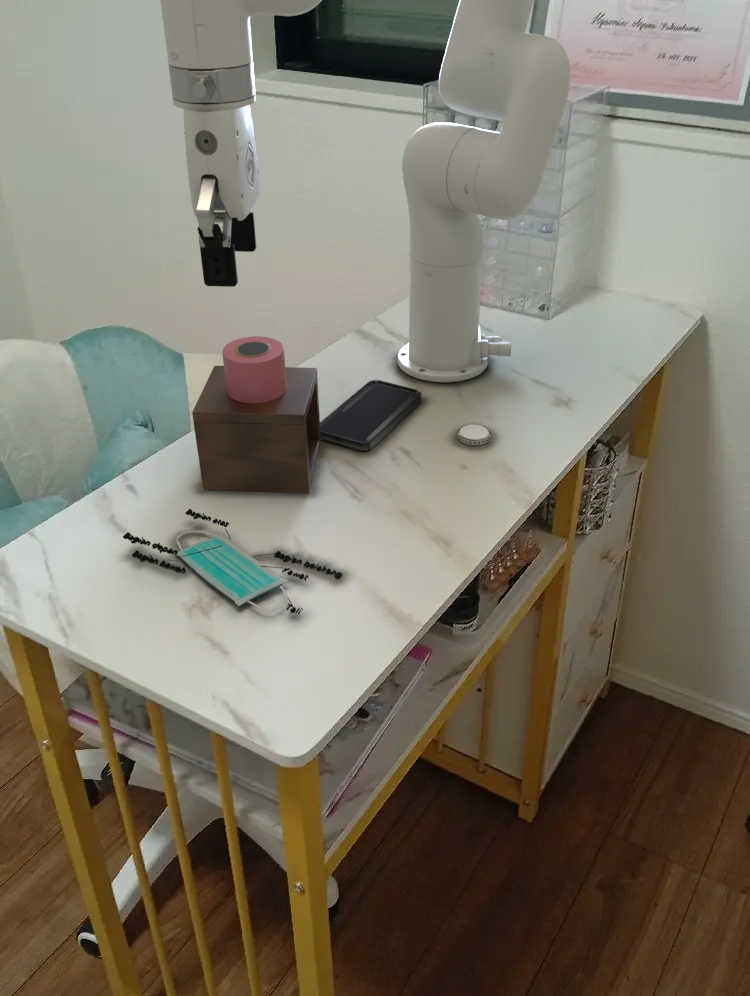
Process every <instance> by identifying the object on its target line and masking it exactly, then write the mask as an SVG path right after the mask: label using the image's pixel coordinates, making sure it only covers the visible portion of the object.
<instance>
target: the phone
mask: <svg viewBox="0 0 750 996" xmlns="http://www.w3.org/2000/svg"><path fill="white" fill-rule="evenodd" d="M421 403H422V391H421V390H419V389H415V388H411V387H407V386H405V385H401V384H396V383H392V382H389V381H384V380H380V379H372V380H369V381H368V382H367V383H365V384H364V385H363V386H362V387H360V388H359V389H358V390H357V391H356V392H355V393H353V394H352V395H351V396H350V397H349V398H347V400H345V401H344V402H342V403H341V404H339V406H338V407H336V408H335V409H334V410H333V411H332V412H330V413H329V414H328V415H327V416H326V417H324V418H323V419H322V420H320V433H321V441H325V442H329V443H332V444H336V445H340V446H342V447H346V448H348V449H353V450H356V451H359V452H367V451H372V449H374V448H375V447H376V446H377V445H378V444H379V443H380V442H381V441H382V440H383V439H384V438H385V437H387V436H388V434H389V433H391V431H393V429H395V428H396V427H398V425H399V424H400V423H401V422H402V421H403V420H404V419H405V418H406V417H408V415H409V414H410V413H412V412H413V411H414V410H415V409H416V408H417V407H418V406H419V405H420V404H421Z"/></svg>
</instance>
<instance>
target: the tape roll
mask: <svg viewBox="0 0 750 996" xmlns="http://www.w3.org/2000/svg"><path fill="white" fill-rule="evenodd" d="M221 353H222V362H223V366H224V371H225V380H226V388H227V394H228V395H229V396H230V397H231V398H232V399H234V400H236V401H239V402H243V403H263V402H268V401H272V400H274V399H277V398H279V397H280V396H282V395H283V394H284V393H285V392H286V389H287V382H286V369H285V367H286V358H285V346H284V343H282V342H281V341H279V340H278V339H275V338H273V337H268V336H257V335H256V336H255V335H254V336H245V337H241V338H237V339H234V340H231V341H229V342H228V343H227V344H226V345H224V347H223V348H222V352H221Z"/></svg>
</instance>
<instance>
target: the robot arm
mask: <svg viewBox="0 0 750 996" xmlns="http://www.w3.org/2000/svg"><path fill="white" fill-rule="evenodd" d="M322 1H323V0H160V8H161V16H162V23H163V24H162V25H163V31H164V38H165V40H164V41H165V46H166V47H165V48H166V55H167V63H168V72H169V73H168V74H169V79H170V89H171V95H172V103H173V106H175V107H176V108H179V109H183V124H184V125H183V128H184V131H183V134H184V141H185V143H184V144H185V155H186V167H187V177H188V186H189V194H190V200H191V207H192V212H193V215H194V216H195V217H196V219H197V223H198V226H197V233H198V246H199V252H200V259H201V268H202V274H203V275H202V277H203V283H204V285H205V286H207V287H228V288H232V287H233V288H234V287H236V286H237V284H238V282H239V279H238V270H237V269H238V268H237V258H236V252H239V253H240V252H241V253H245V252H247V253H252V252H255V251H256V250H257V238H256V237H257V236H256V226H255V215H254V212H253V208H254V207H255V205H256V203H257V202H258V200H259V198H260V196H261V191H262V190H261V189H262V187H261V179H260V169H259V160H258V152H257V145H256V136H255V128H254V121H253V116H252V111H251V110H252V109H251V105H253V104H255V103H256V101H257V95H256V86H255V74H254V73H255V71H254V59H253V57H254V56H253V46H252V45H253V44H252V30H251V17H252V16H257V15H260V16H261V15H262V16H279V17H281V16H282V17H294V16H299V15H303V14H305V13H308V12H310V11H311V10H313V9H315V8H316V7H317V6H318V5H320V3H321V2H322ZM534 1H535V0H459V1H458V5H457V8H456V12H455V15H454V19H453V23H452V27H451V30H450V33H449V37H448V41H447V44H446V48H445V51H444V55H443V58H442V63H441V66H440V71H439V76H438V77H439V78H438V93H439V97H440V100H441V101H442V102H443V103H444V104H445V106H446V107H448V108H450V109H451V110H453V111H455V112H458V113H461V114H465V115H468V116H472V117H478V118H484V119H488V120H489V119H490V120H496V121H501V127H500V131H495V130H489V129H485V128H484V129H483V128H481V127H476V126H471V125H465V124H461V123H460V124H459V123H454V122H445V121H442V122H441V121H439V122H431V123H428V124H425V125H423V126H421V127H420V128H418V129H416V131H415V132H414V133H412V135H411V136H410V137H409V139H408V140H407V142H406V145H405V147H404V151H403V153H402V154H403V155H402V165H401V167H402V168H401V169H402V179H403V184H404V185H403V186H404V189H405V190H404V191H405V195H406V199H407V200H406V201H407V207H408V208H407V209H408V217H409V289H408V290H409V295H408V301H409V302H408V342H407V343H406V344H404V345H403V346H401V348H400V349H399V350H398V352H397V364H398V366H399V368H400V369H401V371H403V372H404V373H405V374H407V375H408V376H411V377H413V378H415V379H418V380H421V381H424V382H425V381H427V382H432V383H455V382H457V383H458V382H461V381H462V382H463V381H467V380H470V379H472V378H475V377H477V376H479V375H481V374H482V373H483V372H484V371H485V370H486V369H487V367H488V363H489V356H497V357H511V356H512V341H503V340H502V339H503V337H502V336H501V335H492V336H486V335H485V334H484V333H483V334H482V333H481V325H480V310H481V297H482V296H481V295H482V293H481V292H482V277H483V276H482V275H483V260H484V233H483V228H482V224H481V221H480V217H479V216H483V217H486V218H491V219H495V220H501V221H510V220H516V219H517V218H519V217H521V216H522V215H524V214H525V213H526V212H527V211H528V209H529V208H530V207H531V206H532V204H533V202H534V201H535V198H536V196H537V194H538V191H539V189H540V187H541V184H542V180H543V177H544V174H545V171H546V169H547V166H548V162H549V158H550V155H551V153H552V149H553V146H554V143H555V140H556V136H557V134H558V130H559V128H560V124H561V121H562V117H563V115H564V112H565V108H566V104H567V102H568V101H567V100H568V97H569V92H570V85H571V84H570V83H571V66H570V65H571V64H570V61H569V56H568V53H567V51H566V50H565V49H564V48H565V47H563V45H562V44H561V43H560V42H559V41H557V40H556V39H554V38H552V37H549V36H546V35H543V34H537V33H528V32H527V27H528V23H529V19H530V16H531V11H532V8H533V4H534ZM219 224H222V229H221V227H220V225H219Z"/></svg>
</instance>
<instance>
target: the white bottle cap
mask: <svg viewBox="0 0 750 996" xmlns="http://www.w3.org/2000/svg"><path fill="white" fill-rule="evenodd" d="M491 435H492V432H491V430H490V429H489V428H488V427H486V426H485V425H481V424H477V423H471V424H470V423H469V424H465V425H462V426H460V427H459V428H458V429H457V433H456V437H457V439H458V441H460V442H461V443H462V444H466V445H469V446H481V445H484V444H487V443H489V442H490V441H491Z"/></svg>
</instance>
